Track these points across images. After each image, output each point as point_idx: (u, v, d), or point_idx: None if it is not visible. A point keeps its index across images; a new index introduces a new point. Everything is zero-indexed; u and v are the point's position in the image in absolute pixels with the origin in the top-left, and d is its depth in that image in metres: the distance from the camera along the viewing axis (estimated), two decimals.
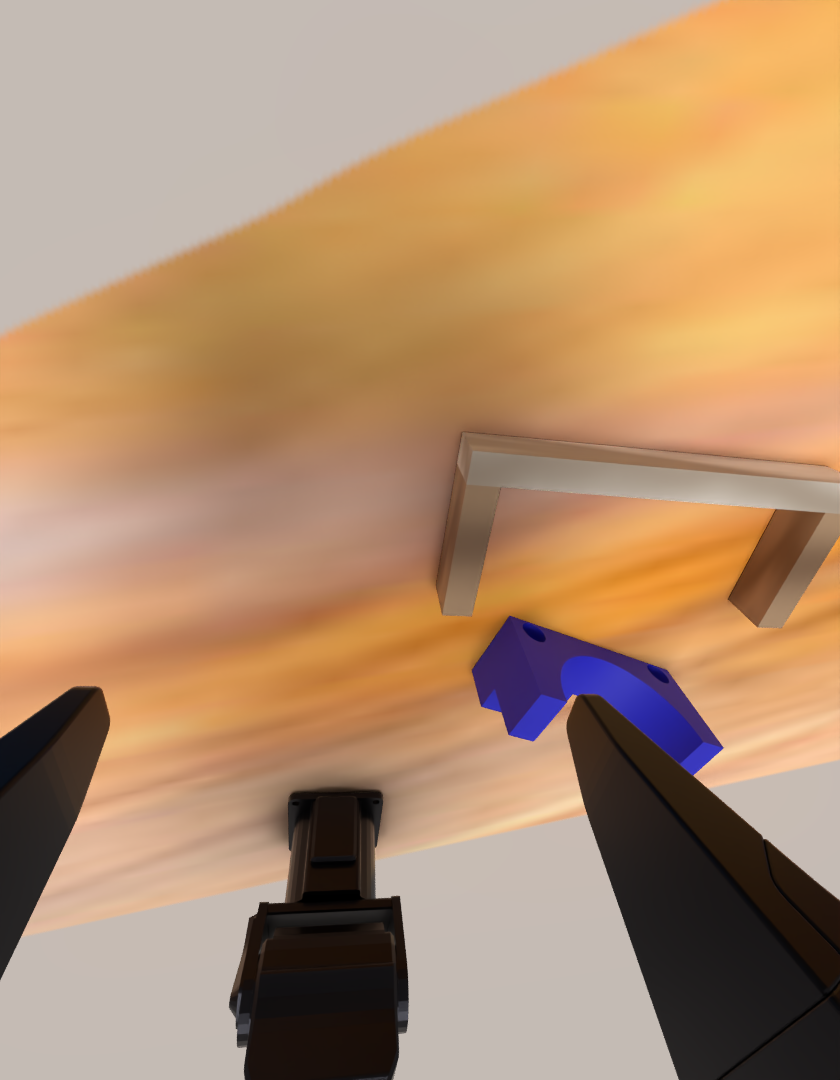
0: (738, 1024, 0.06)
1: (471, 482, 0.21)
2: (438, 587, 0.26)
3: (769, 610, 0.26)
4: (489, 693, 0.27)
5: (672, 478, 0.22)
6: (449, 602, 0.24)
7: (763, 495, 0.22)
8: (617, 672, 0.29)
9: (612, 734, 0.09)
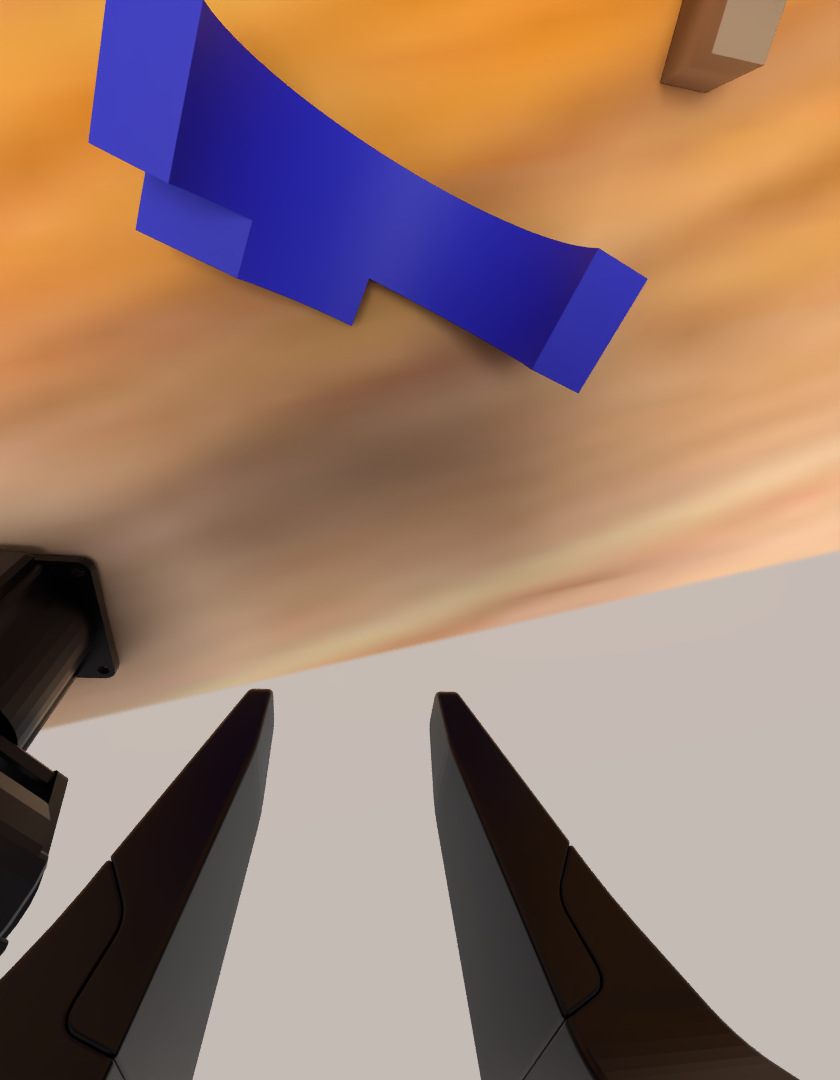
0: (515, 1045, 0.06)
1: None
2: None
3: None
4: (144, 189, 0.13)
5: None
6: None
7: None
8: (446, 209, 0.14)
9: (451, 733, 0.08)
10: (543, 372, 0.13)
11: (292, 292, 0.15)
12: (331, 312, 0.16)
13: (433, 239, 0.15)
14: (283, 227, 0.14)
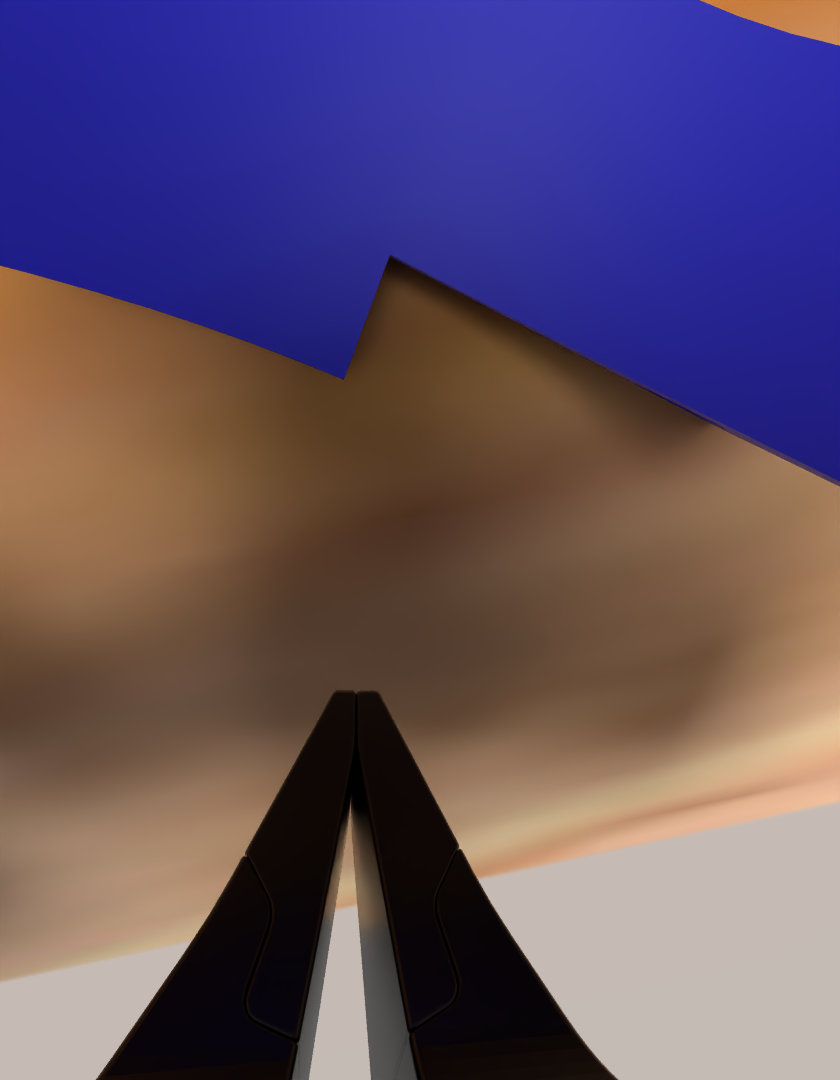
0: (385, 1057, 0.05)
1: None
2: None
3: None
4: None
5: None
6: None
7: None
8: (632, 30, 0.05)
9: (360, 733, 0.08)
10: None
11: (170, 296, 0.05)
12: (289, 348, 0.06)
13: (580, 133, 0.05)
14: (99, 72, 0.04)
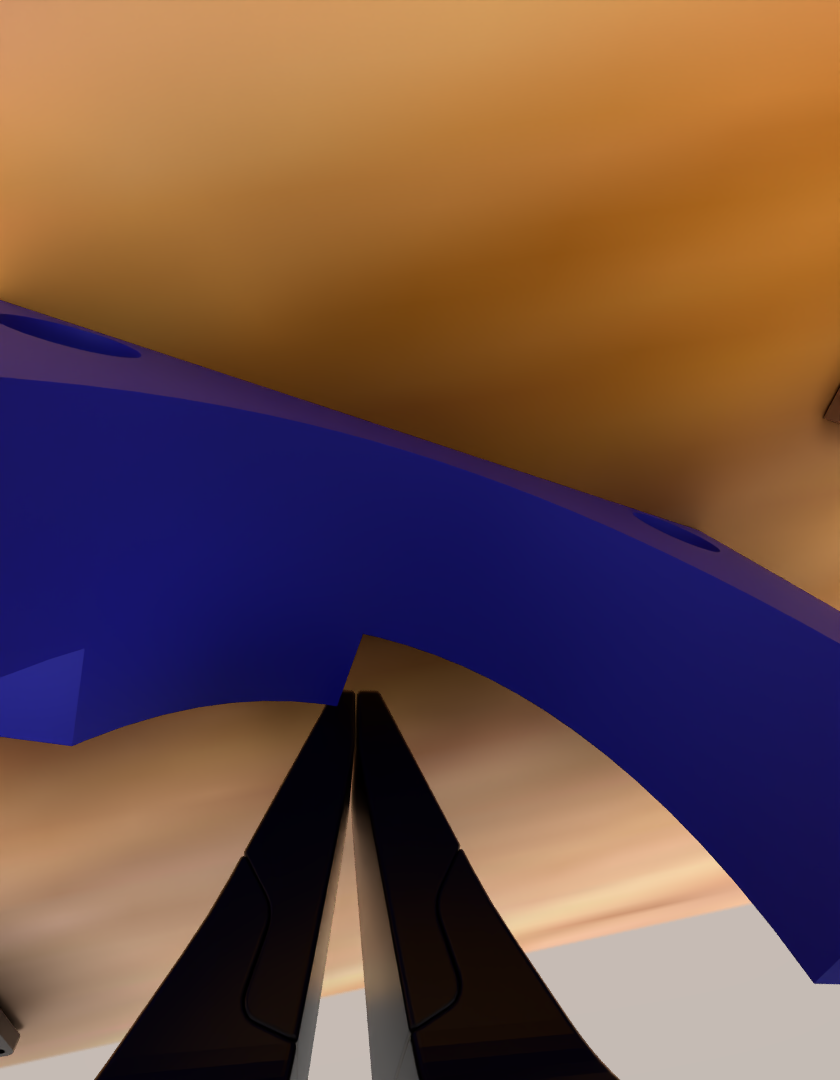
0: (387, 1057, 0.05)
1: None
2: None
3: None
4: None
5: None
6: None
7: None
8: (507, 513, 0.07)
9: (361, 733, 0.08)
10: None
11: (211, 695, 0.07)
12: (295, 696, 0.08)
13: (484, 563, 0.07)
14: (170, 617, 0.06)
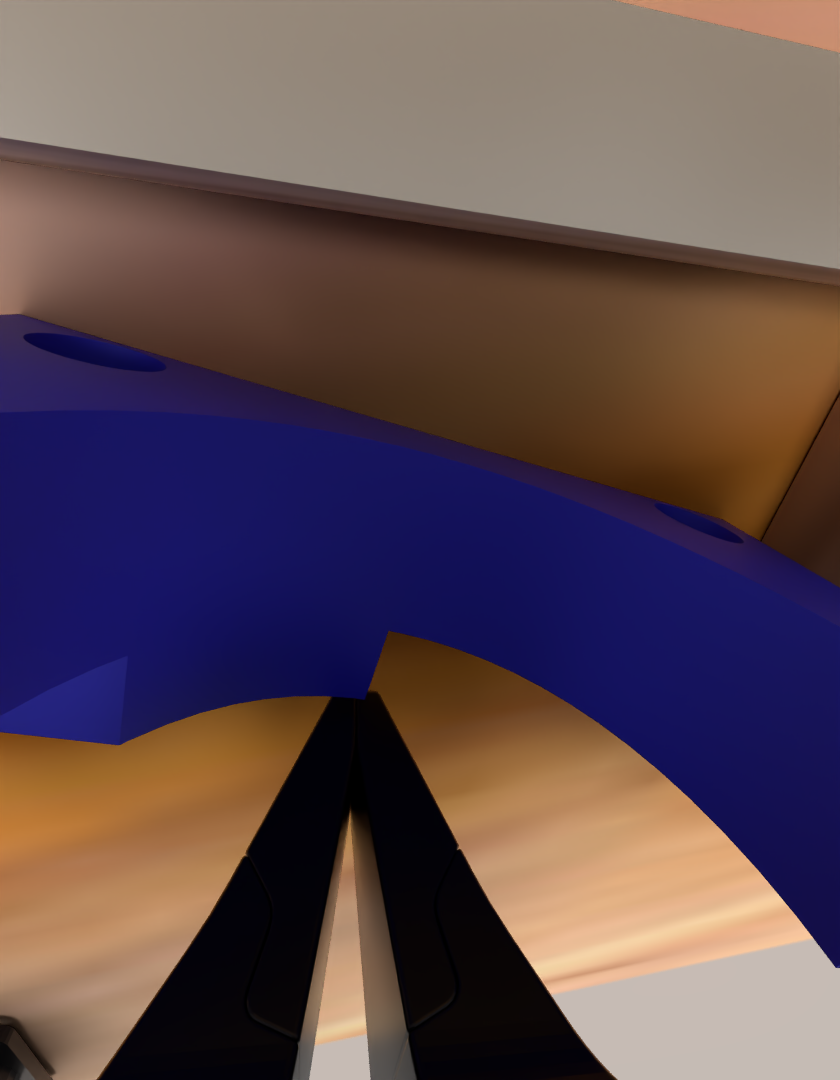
0: (385, 1057, 0.05)
1: None
2: None
3: None
4: None
5: (352, 25, 0.04)
6: None
7: None
8: (529, 511, 0.07)
9: (360, 733, 0.08)
10: None
11: (245, 693, 0.08)
12: (325, 691, 0.08)
13: (506, 561, 0.07)
14: (205, 622, 0.07)
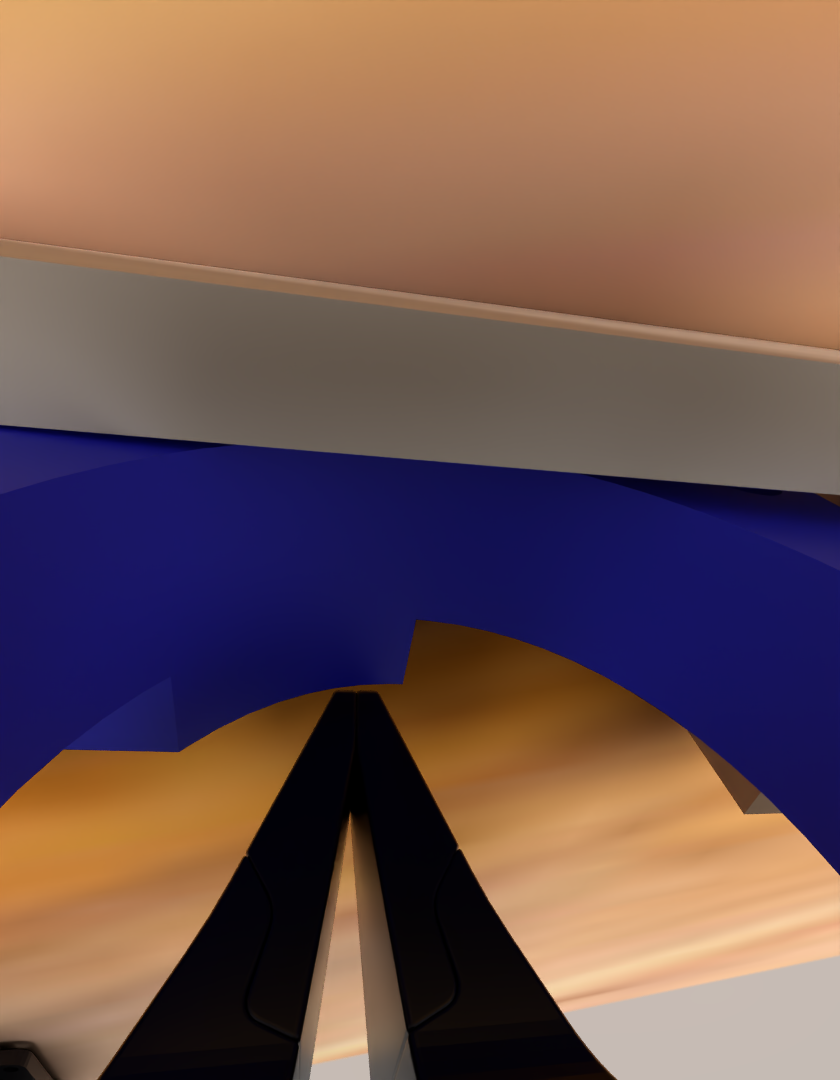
0: (385, 1057, 0.05)
1: None
2: None
3: None
4: None
5: (350, 352, 0.05)
6: None
7: (758, 438, 0.06)
8: (542, 491, 0.07)
9: (360, 733, 0.08)
10: None
11: (288, 691, 0.08)
12: (363, 681, 0.09)
13: (524, 542, 0.07)
14: (237, 635, 0.07)
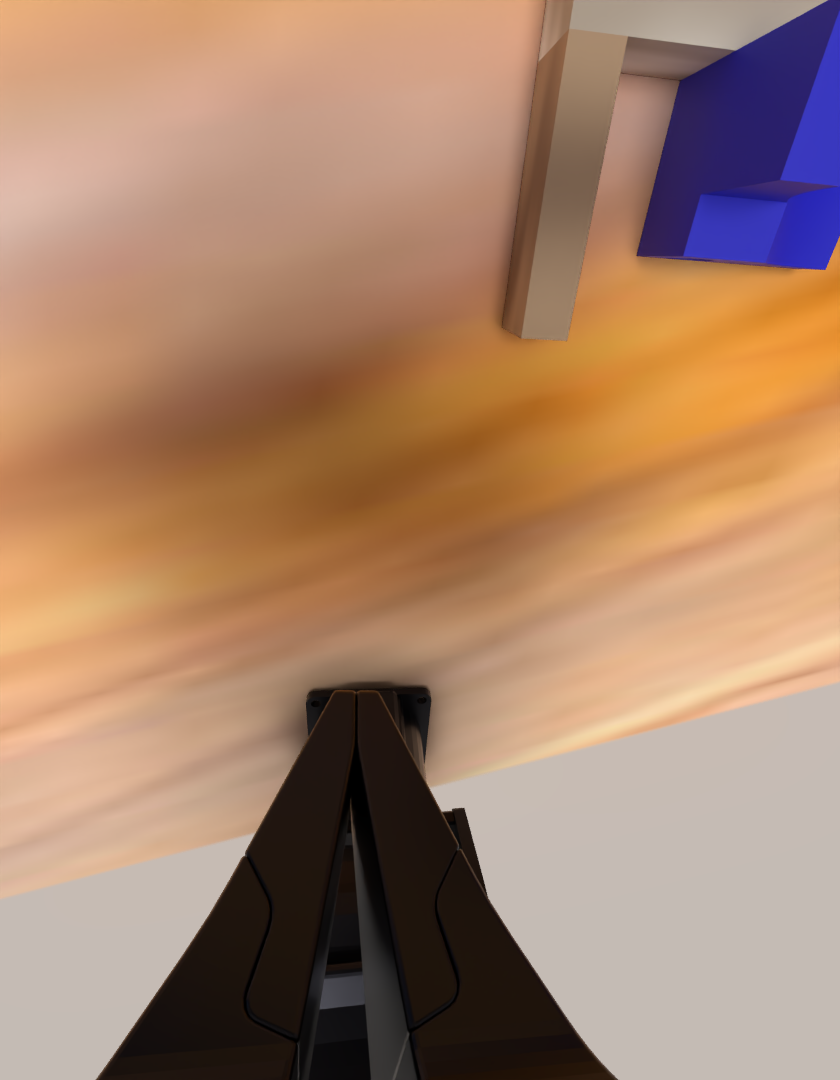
0: (385, 1057, 0.05)
1: (578, 23, 0.12)
2: (508, 318, 0.17)
3: None
4: (692, 217, 0.14)
5: None
6: (533, 310, 0.15)
7: None
8: None
9: (360, 733, 0.08)
10: None
11: (783, 259, 0.16)
12: (809, 264, 0.16)
13: None
14: (795, 199, 0.14)
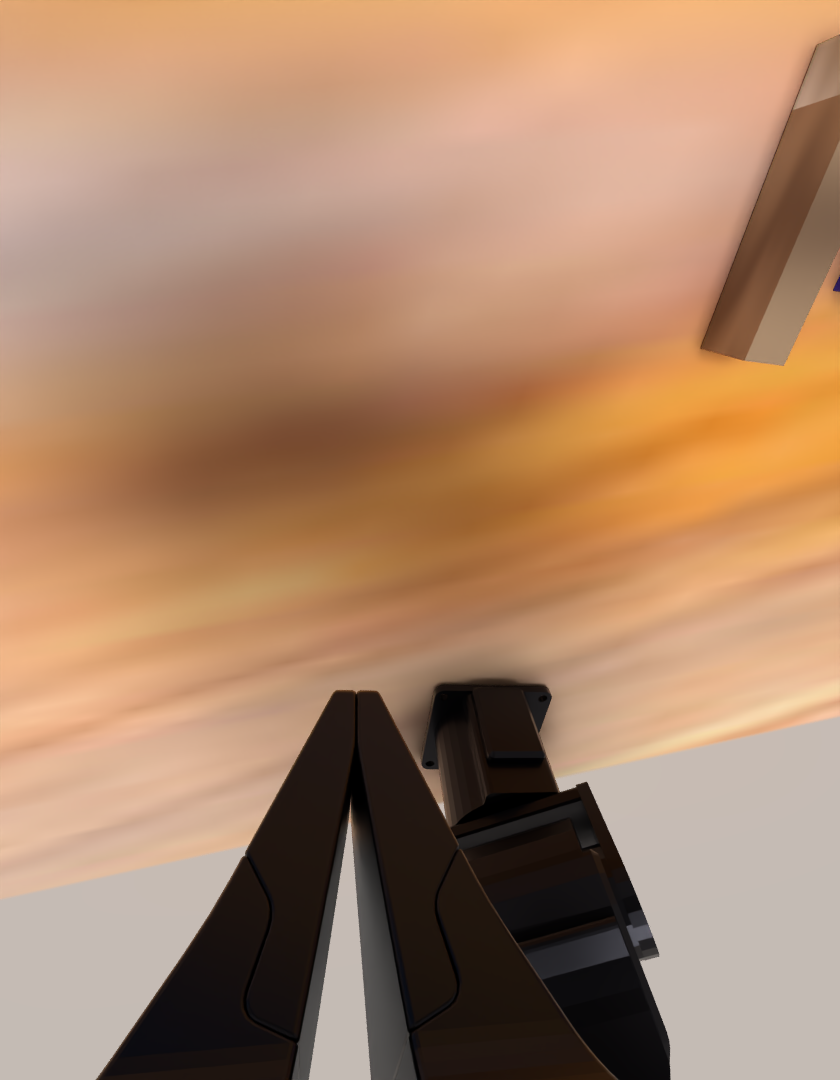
0: (386, 1057, 0.05)
1: None
2: (716, 340, 0.18)
3: None
4: None
5: None
6: (762, 336, 0.16)
7: None
8: None
9: (360, 733, 0.08)
10: None
11: None
12: None
13: None
14: None
